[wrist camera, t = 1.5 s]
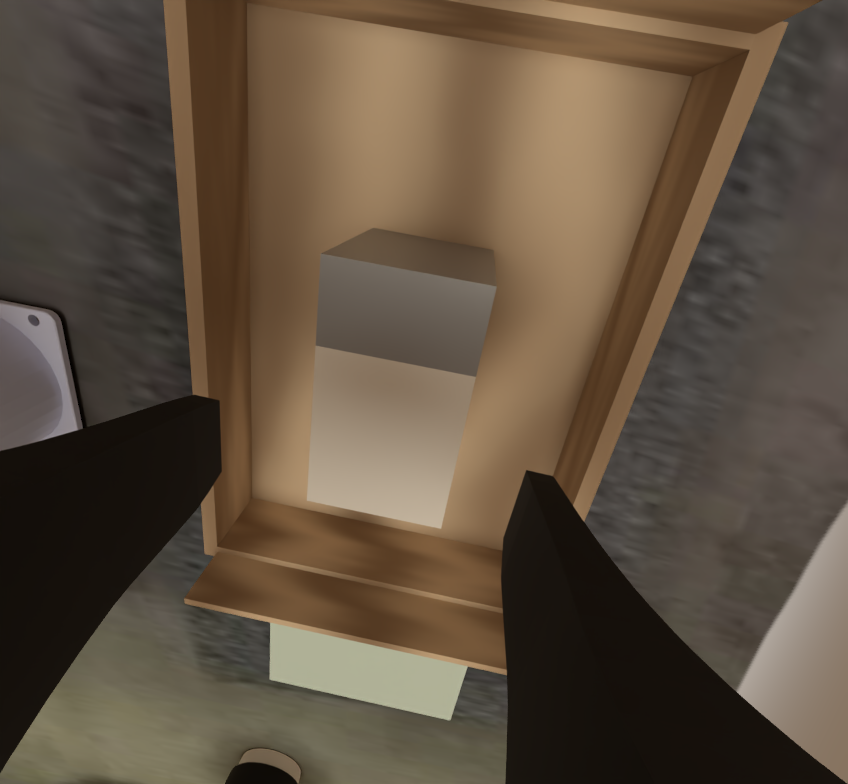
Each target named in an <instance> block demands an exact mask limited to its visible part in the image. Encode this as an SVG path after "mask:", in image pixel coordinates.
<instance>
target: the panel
mask: <svg viewBox="0 0 848 784" xmlns="http://www.w3.org/2000/svg"><path fill="white" fill-rule="evenodd" d="M467 667H468V666H464V665H459V664H455V663H450V662H446V661H441V660H437V659H432V658H428V657H423V656H419V655H414V654H410V653H405V652H401V651H396V650H392V649H387V648H383V647H378V646H374V645H369V644H365V643H360V642H356V641H351V640H347V639H342V638H338V637H333V636H329V635H324V634H320V633H315V632H311V631H306V630H302V629H297V628H293V627H288V626H284V625H279V624H275V623H270V680H274V681H279V682H283V683H288V684H292V685H296V686H301V687H305V688H310V689H314V690H318V691H323V692H327V693H332V694H336V695H340V696H345V697H349V698H354V699H358V700H362V701H367V702H371V703H376V704H380V705H384V706H389V707H393V708H398V709H402V710H406V711H411V712H415V713H420V714H424V715H428V716H433V717H437V718H442V719H446V720H451V716H452V713H453V710H454V707H455V704H456V701H457V698H458V695H459V691H460V688H461V685H462V682H463V679H464V676H465V673H466V670H467Z"/></svg>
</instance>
